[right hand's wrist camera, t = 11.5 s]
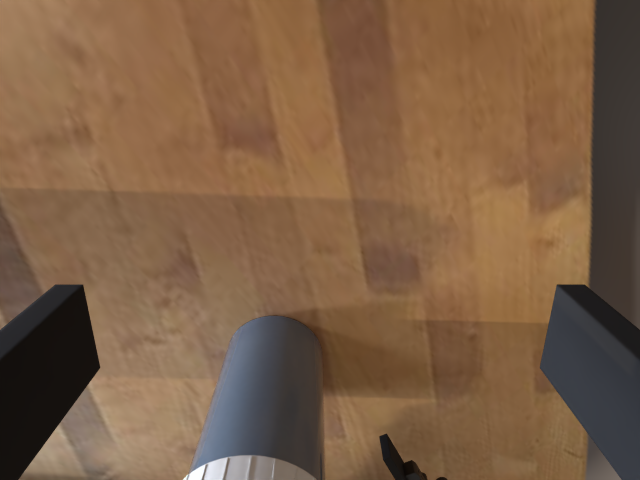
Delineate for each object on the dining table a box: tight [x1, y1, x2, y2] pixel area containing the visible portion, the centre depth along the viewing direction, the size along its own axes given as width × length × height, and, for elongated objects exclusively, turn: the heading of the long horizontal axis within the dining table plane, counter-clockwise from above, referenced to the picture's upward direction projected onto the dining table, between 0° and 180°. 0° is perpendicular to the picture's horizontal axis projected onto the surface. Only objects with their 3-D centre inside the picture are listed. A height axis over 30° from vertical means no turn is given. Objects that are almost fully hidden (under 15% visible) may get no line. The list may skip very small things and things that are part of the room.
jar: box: [188, 316, 325, 480], centre depth 36 cm, size 10×10×19 cm
